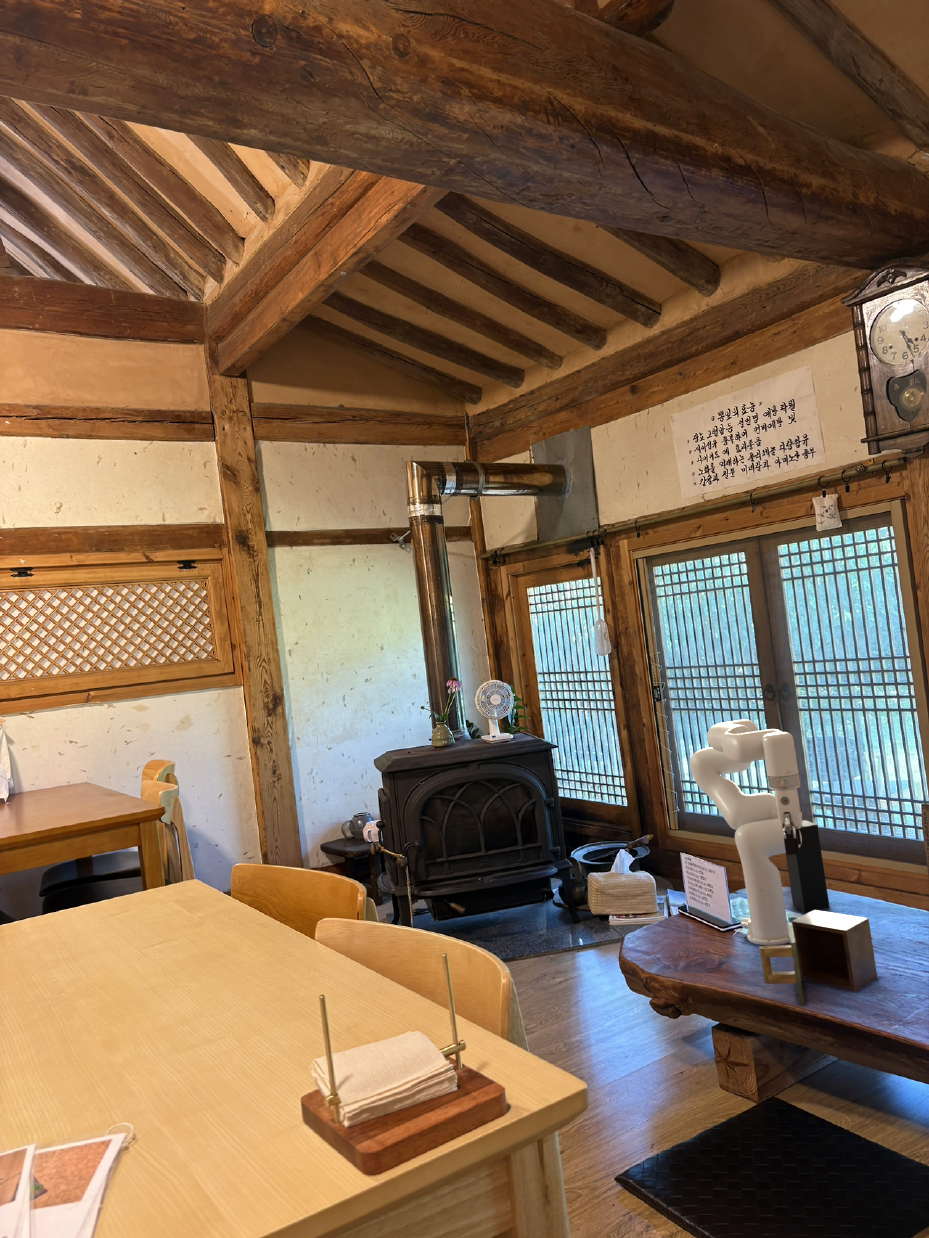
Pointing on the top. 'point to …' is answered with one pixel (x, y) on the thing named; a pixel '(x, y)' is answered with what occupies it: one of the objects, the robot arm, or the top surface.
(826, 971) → the cupboard
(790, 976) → the door
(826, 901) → the tall black block
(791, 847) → the robot arm
